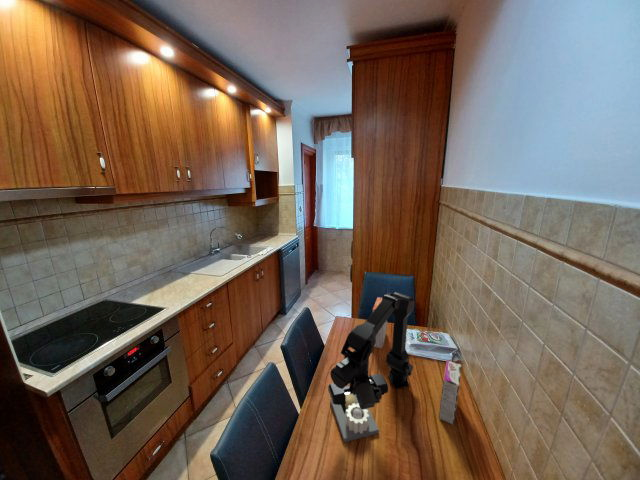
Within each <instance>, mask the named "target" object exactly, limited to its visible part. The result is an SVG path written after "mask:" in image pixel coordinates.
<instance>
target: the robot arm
mask: <svg viewBox="0 0 640 480" xmlns="http://www.w3.org/2000/svg"><path fill="white" fill-rule="evenodd" d="M381 298H382V301H381V303H380V304H379V305H378V306H377V308H376V309H375V310H374V311H373V310H372V312H373V313H371V314H370V315H369V317H368V318H367V319H366V321H364V322H363V323H361V324H358V325H356V326H355V327H354V328H353V329H352V330H351V331H350V332H349V333H348V335H347V336H346V339H345V342H344V344H343V346H342V348H341V351H340V354H341V355H343V356H344V359H342V360H341V361H340V362H338V363H336V364H335V366H334V367H333V368H331V369H330V370H331V371H330V372H329V374H330V378H331V380H332V383H329V384H328V386H327V388H328V393H329V397H330V401H331V400H332V402H333V404H335V405H336V404H337V405H341V406H342V409H343V412H344V414H345V412H346V407H345V404H346V401H345V400H346V397H345V395H350V394H353V395H356V397H357V400H358V403H359V407H360V408H361V409H367V408H368V409H370V408H371V409H372V408H374V407H375V405H376V404H379V403H381V401H380V400H382V396H383V395H385V394H388V392H389V384H388V382H387V381H386V379H385V377H384V376H383V374H381V373H377V374H371V375H369V365H370V364H369V363H370V362H369V360H370V356H371V354H372V353H373V352H374V351H373V350H374V348H375V347H374V345H375V343H376V335H377V333H378V332H379V330H380V329H381V327H382V326H383V325H384V323H385V322H386V321H387V322H388V319H389V318H390V316H391V315H393V329H392V330H393V331H392V344H391V350H389V351H388V352H387V354H386V361H385V363H386V364H387V366H386V367H389V368H390V371H389V375H387V379H388V380H389V382H390V383H391V384H392V385H393V387H394V388H395V389H396V390H397V389H401V388H406V387H410V386H411V384H410V383H409V381H408V380H409V376H412V371H413V368H414V366H413V364H411V363H410V355H409V354H408V352H407V350H406V345H407V343H406V342H407V332H408V330H407V328H408V317H409V316H410V315H411V314H412V313H413V312H414V308H415V300H414V298H413V297H412V296H409V295H407V294H404V293H401V292H398V291H395V292H394V293H390V292H389V293H385V294H384V295H383V297H381ZM350 349H351V350H350Z"/></svg>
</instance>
